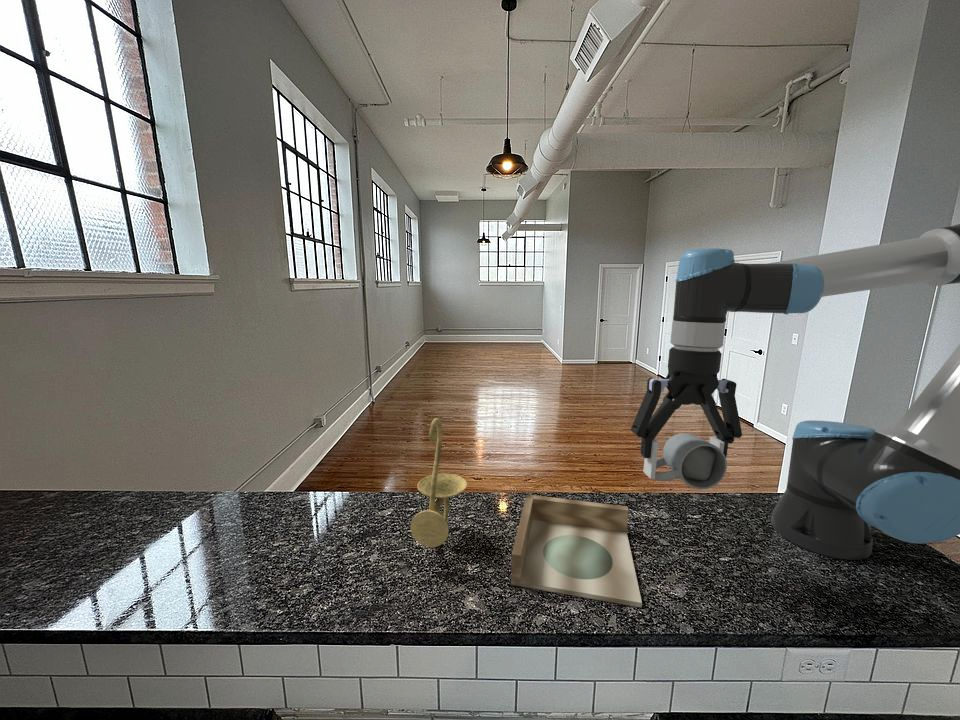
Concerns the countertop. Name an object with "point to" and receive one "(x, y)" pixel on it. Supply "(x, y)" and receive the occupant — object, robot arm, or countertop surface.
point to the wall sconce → (430, 523)
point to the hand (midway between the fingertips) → (680, 475)
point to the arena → (575, 550)
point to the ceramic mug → (692, 461)
